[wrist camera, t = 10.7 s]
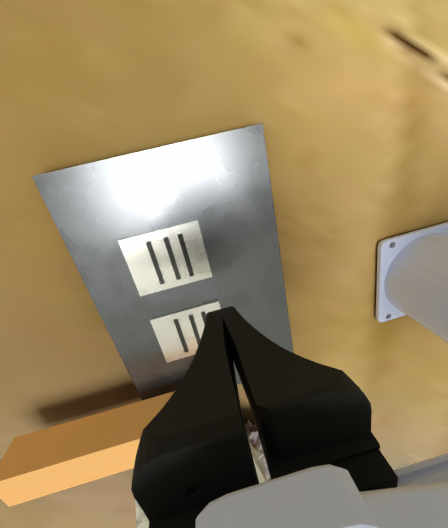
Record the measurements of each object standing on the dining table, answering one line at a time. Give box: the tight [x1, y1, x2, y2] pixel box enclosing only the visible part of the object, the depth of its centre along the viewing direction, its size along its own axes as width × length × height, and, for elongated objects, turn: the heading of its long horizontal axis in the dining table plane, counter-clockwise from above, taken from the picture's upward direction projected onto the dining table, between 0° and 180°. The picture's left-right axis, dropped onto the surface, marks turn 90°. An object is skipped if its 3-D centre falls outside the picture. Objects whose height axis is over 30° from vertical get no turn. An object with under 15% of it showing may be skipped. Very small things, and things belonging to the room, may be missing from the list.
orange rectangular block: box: [0, 391, 175, 507], centre depth 19 cm, size 16×4×4 cm, turn 102°
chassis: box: [32, 123, 293, 401], centre depth 19 cm, size 13×19×2 cm
